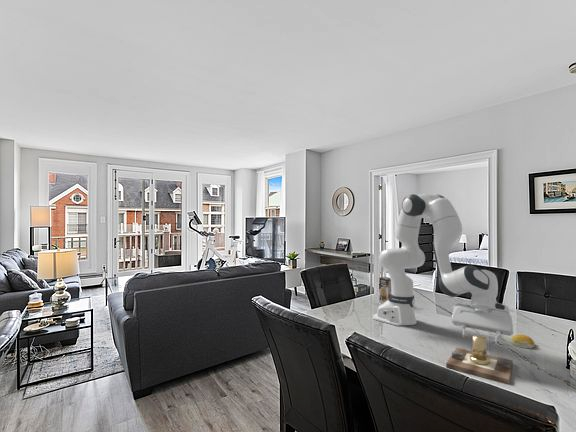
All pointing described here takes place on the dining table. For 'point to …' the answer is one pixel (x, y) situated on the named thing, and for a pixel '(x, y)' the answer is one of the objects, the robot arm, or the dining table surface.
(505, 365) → the board
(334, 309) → the dining table surface
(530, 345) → the bread roll
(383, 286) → the coffee box
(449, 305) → the dining table surface
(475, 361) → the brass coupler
